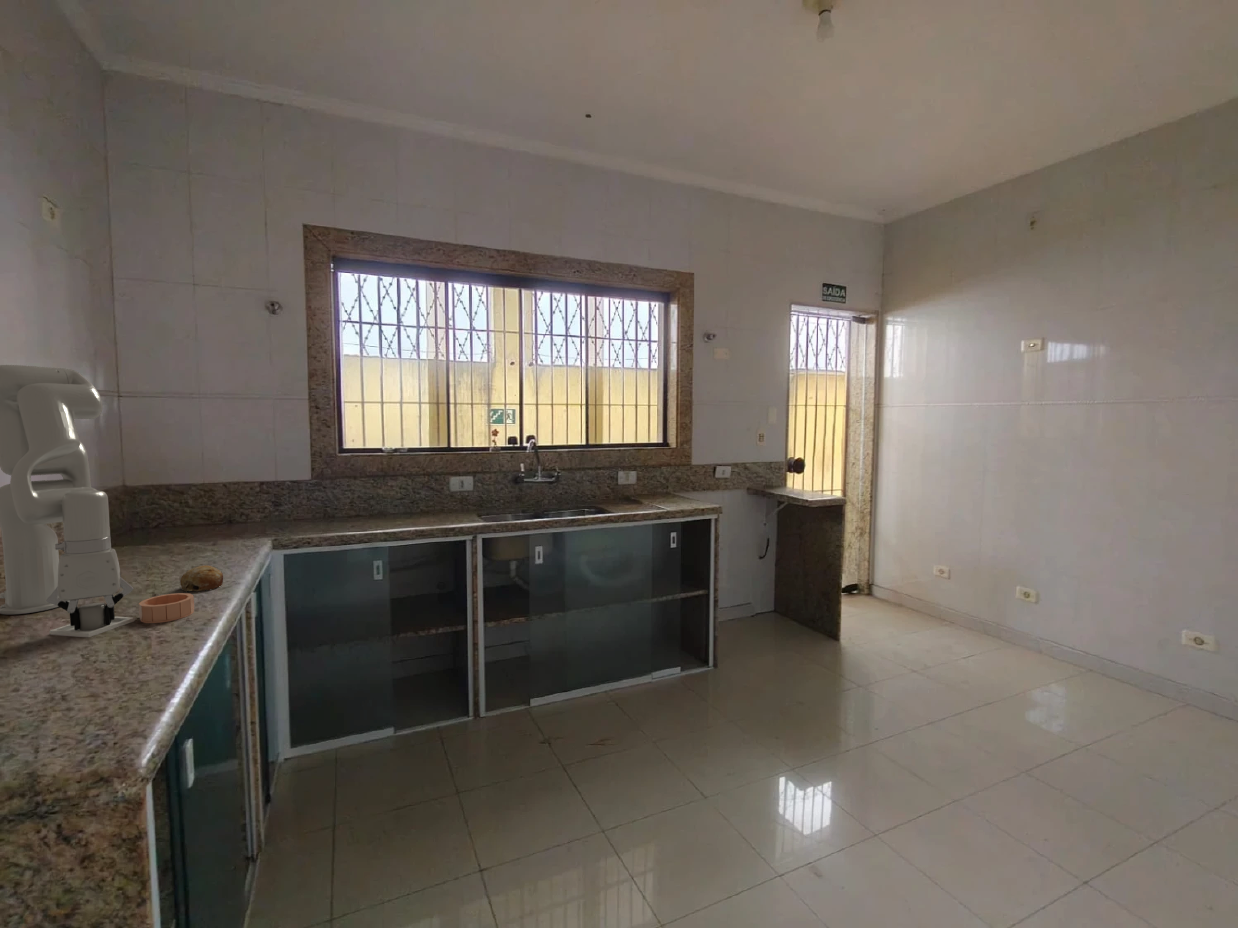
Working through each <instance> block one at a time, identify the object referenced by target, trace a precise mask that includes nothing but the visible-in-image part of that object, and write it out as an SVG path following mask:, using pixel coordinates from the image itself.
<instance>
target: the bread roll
mask: <svg viewBox="0 0 1238 928" xmlns="http://www.w3.org/2000/svg"><path fill="white" fill-rule="evenodd" d="M179 580H180V586H181V590H182V591H184V592H187V591H196V592H202V591H203V592H205V590H207V591H211V590H210V589H212V590H215V589H214V588H216V589H218V588H217V587H219V586H221V585H223V583H224V573H223V572H222V571H221V570H220V569H218V568H217V567H214V566H212V565H205V564H204V565H199V566H195V567H193V568H190V569H189V570H187V571H186V572H184V573H183V575H182V576H181V577H180V579H179ZM221 587H222V586H221ZM219 588H220V587H219Z"/></svg>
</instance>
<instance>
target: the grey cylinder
mask: <svg viewBox="0 0 1238 928" xmlns="http://www.w3.org/2000/svg"><path fill="white" fill-rule="evenodd" d="M106 604H107V603H106V602H91V603H87V604H83V605H80V606H78V611H79V624H80V631H92V630H97V629H99V628H102V627H105V626H107V625H106V624H105V608H106Z"/></svg>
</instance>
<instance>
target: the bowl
mask: <svg viewBox="0 0 1238 928" xmlns="http://www.w3.org/2000/svg"><path fill="white" fill-rule="evenodd" d="M194 612H195V596H194V595H193V594H192V593H190V592H186V593H185V592H184V593H183V592H178V593H177V592H176V593H168V594H161V595H155V596H152V597H149V598H146V599H143V600H141V601H140V602H139V603H138V617H139V618H138V619H140V622H141V623H145V624H158V623H168V622H171V621H172V622H173V621H176V620H177V621H178V620H180V619H183V618H187V617H190V616H191V615H192V614H193V613H194Z"/></svg>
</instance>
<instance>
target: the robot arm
mask: <svg viewBox="0 0 1238 928" xmlns="http://www.w3.org/2000/svg"><path fill="white" fill-rule="evenodd" d="M103 405H104V404H103V400H102V397H101V394H100V392H99V391H98V390H97V388H96V387H95V386H94V385H93V383H92V382H91V381H89V380H88V379H87V378H86V377H85V376H83V375H82V374H81V373H80V372H79V371H77V370H74V369H72V368H71V369H70V368H61V367H51V366H50V367H49V366H48V367H45V366H35V365H21V364H20V365H19V364H0V469H1V471H2V472H3V473H4V474H5V475H9V476H10V482H9V483H7V484H5V485H3V486H1V487H0V531H1V541H2V552H3V553H2V555H3V563H4V565H3V566H4V577H5V590H4V592H0V599H4V601H5V602H4V604H1V605H0V614H1V615H22V614H30V613H37V612H43V611H47V610H48V611H49V610H52V609H56V608H61V609H62V610H64V611H65V612H67V613H68V614H69V621H70V622H69V624H70V625H71V626H74V629H75V630H78V629H80V624H79V611H78V608H79V606H78V603H79V600H87V599H95V598H101V597H103V598H104V601H105V603H106V608H105V624H106V625H110V623H111V620H114V619H115V616H116V615H115V613H116V612H115V605H116V604H118V602H120V601H121V600H122V599H123V598H124V597H125V596H127V595H128V594H130V593H131V592H133V590H134V587H133V586H132V585H131V584H130V583H129V582H128V581H126V580H125V579H124V578H123V577H122V576H121V575H122V574H121V568H120V563H119V558H118V554H117V551H116V549H115V548H112V543H111V541H112V540H111V528H110V526H111V525H110V510H109V509H110V508H109V497H108V495H107V493H106V492H105V491H104V490H103V491H102V490H97V489H96V488H94V487H92V482H91V470H90V463H89V455H88V451H87V448H86V447H85V445H84V443H83V442H82V441H81V440H80V436H79V433H78V429H77V427H76V426H77V425H76V422H75V420H94V419H97V418H99V416H100V415H101V414H102V412H103V409H104V408H103ZM47 475H61V477H62V479H50V480H47V479H46V480H32V478H31V477H32V476H33V477H34V476H47ZM56 523H62V526H63V540H64V541H62V542H60V543H59V539H58V534H57V532H56V531H55V530H54V529H53V528H52V527H50V526H49V525H48V524H56ZM59 550H60V551H63V552H64V553H62V554H60V553H59ZM59 554H60V555H59ZM121 588H122V590H121ZM119 591H120V592H119ZM115 594H116V595H115Z"/></svg>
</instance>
